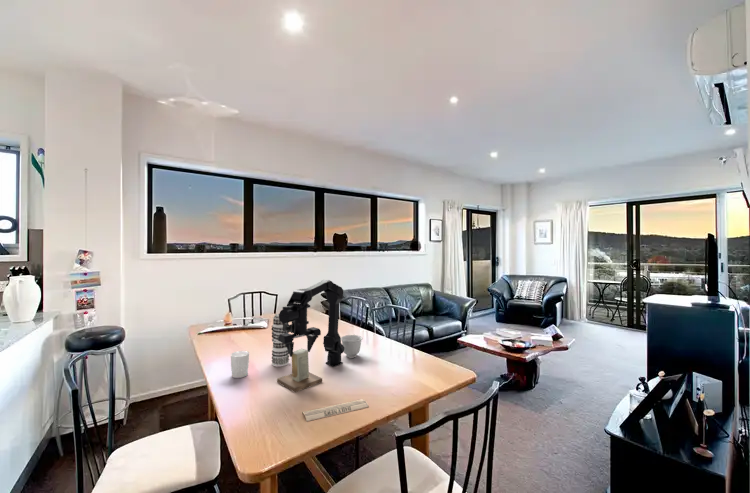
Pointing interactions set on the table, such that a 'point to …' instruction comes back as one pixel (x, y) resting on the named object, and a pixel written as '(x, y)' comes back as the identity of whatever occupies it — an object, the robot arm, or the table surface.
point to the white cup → (239, 364)
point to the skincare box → (300, 365)
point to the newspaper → (335, 410)
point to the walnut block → (300, 385)
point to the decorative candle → (278, 344)
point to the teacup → (351, 345)
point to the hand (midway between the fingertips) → (299, 354)
